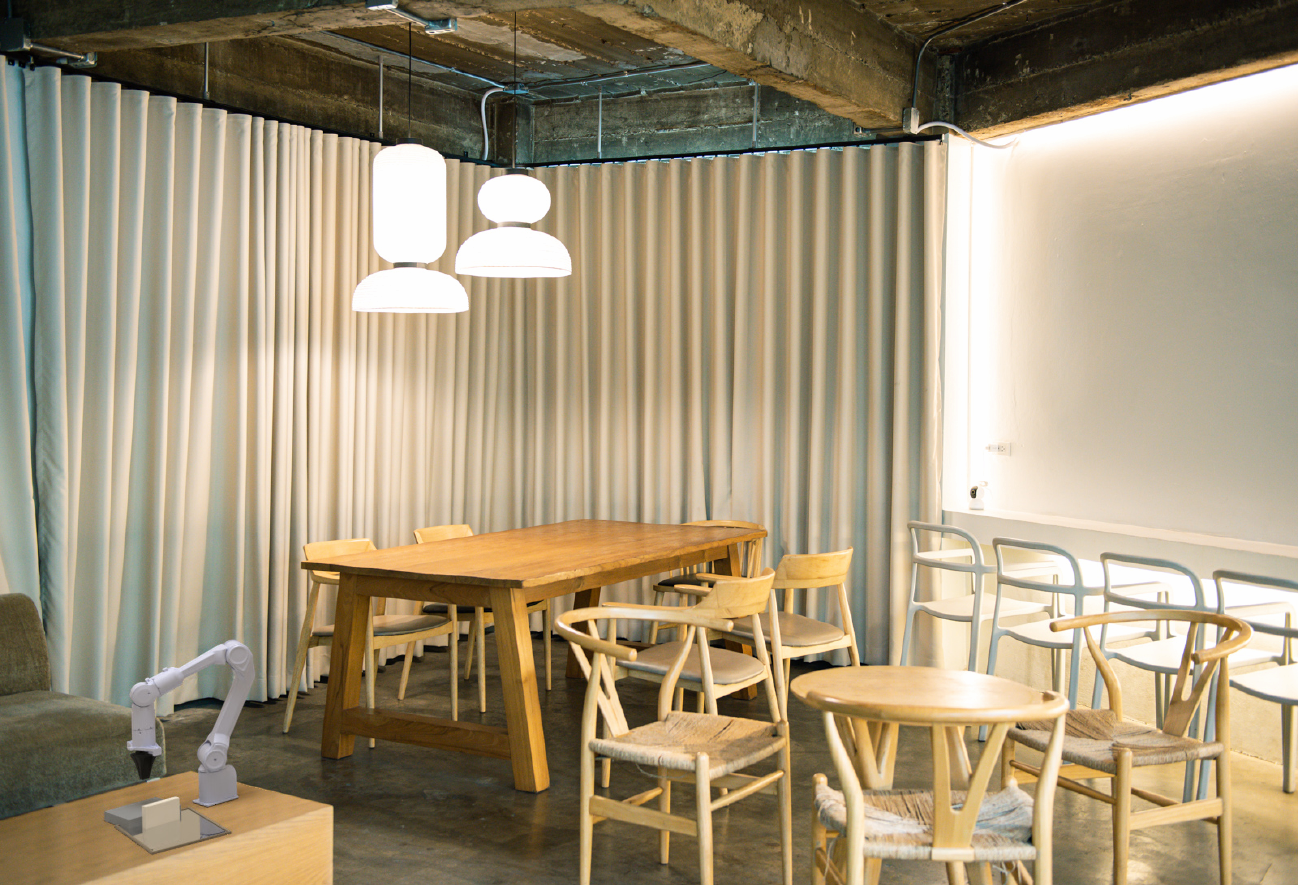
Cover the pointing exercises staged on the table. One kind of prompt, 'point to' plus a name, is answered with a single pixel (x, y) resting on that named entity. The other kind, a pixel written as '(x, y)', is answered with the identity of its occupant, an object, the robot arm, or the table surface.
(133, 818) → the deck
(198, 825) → the picture frame
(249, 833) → the table surface
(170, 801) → the tile
